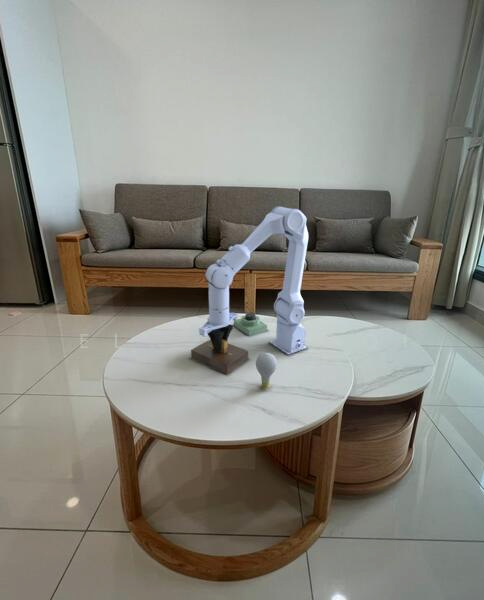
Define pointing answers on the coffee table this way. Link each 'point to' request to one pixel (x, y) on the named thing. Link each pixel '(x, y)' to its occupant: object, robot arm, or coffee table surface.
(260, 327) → the block
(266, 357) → the light bulb
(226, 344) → the thumb turn
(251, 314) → the alarm button
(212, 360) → the plate
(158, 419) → the coffee table surface
